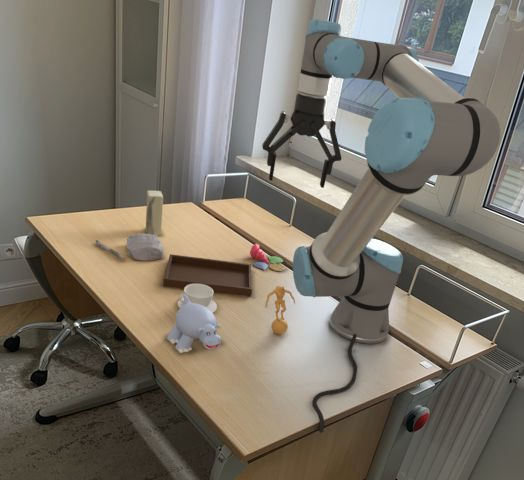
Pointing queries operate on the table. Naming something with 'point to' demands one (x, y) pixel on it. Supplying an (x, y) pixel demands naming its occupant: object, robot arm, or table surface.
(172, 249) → the table surface
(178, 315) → the hippopotamus toy
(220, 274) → the tray
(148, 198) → the box
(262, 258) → the toy pieces
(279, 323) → the figurine
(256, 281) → the table surface
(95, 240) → the pen
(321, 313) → the table surface
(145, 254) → the stone block
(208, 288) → the teacup
